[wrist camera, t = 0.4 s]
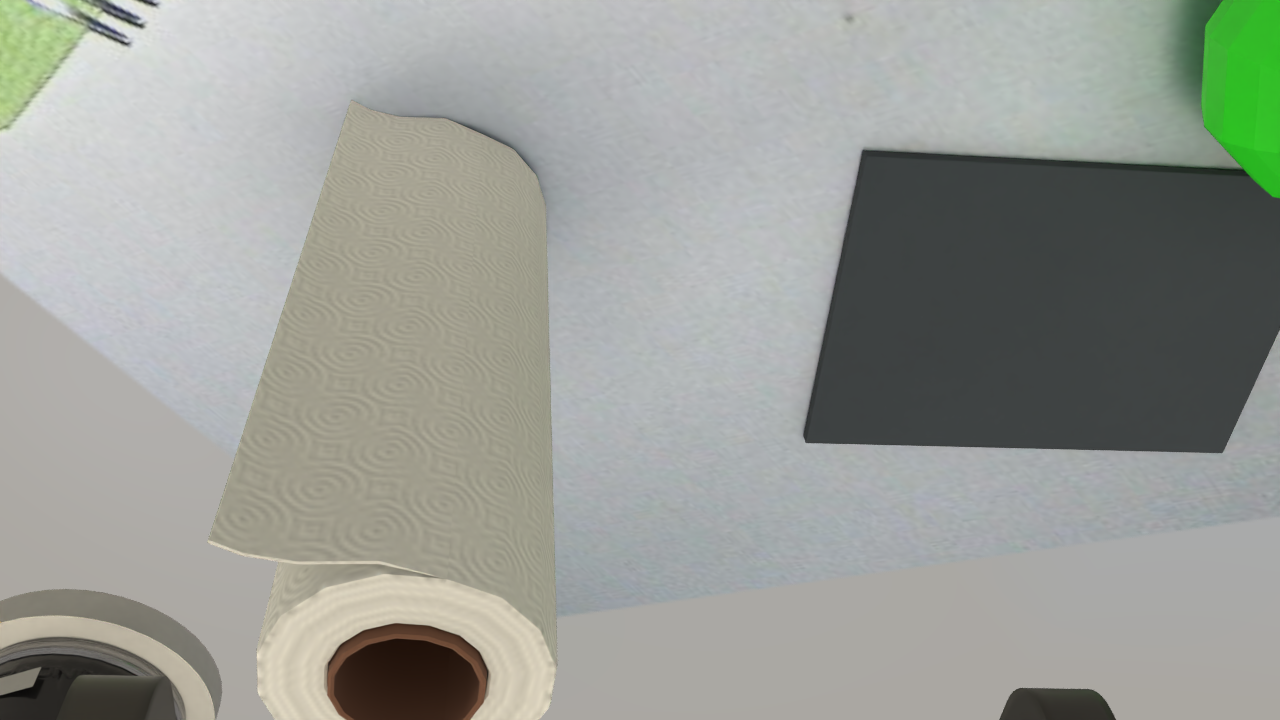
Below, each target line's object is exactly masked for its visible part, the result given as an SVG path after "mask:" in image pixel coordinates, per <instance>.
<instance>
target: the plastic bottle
mask: <svg viewBox="0 0 1280 720" xmlns="http://www.w3.org/2000/svg"><path fill="white" fill-rule="evenodd" d="M1201 108H1202V115H1203V121H1204V127H1205V128H1206V129H1207V130H1208V131H1209V132H1210V133H1211V134H1212V136H1213V137H1214V138H1215V139H1216V140H1217V141H1218V142H1219V143H1220V144H1221V145H1222V146H1223V147H1224V149H1225V150H1226V151H1227V152H1228V153H1229V154H1230V155H1231V156H1232V157H1233V158H1234V159H1235V160H1236V162H1237V163H1238V164H1239V165H1240V166H1241V167H1242V168H1243V169H1244V170H1245V171H1246V172H1247V173H1248V175H1249V176H1250V177H1251V178H1252V179H1253V180H1254V181H1255V182H1256V183H1257V184H1258V185H1260V186H1261V187H1262V188H1263V189H1264V190H1265V191H1266V192H1268V193H1269V194H1270V195H1271V196H1272V197H1276V198H1280V0H1223V1H1222V2H1221V4H1220V5H1219V7H1218V8H1217V10H1216V11H1215V12H1214V14H1213V15H1212V17H1211V18H1210V20H1209V21H1208V23H1207V24H1206V26H1205V41H1204V60H1203V80H1202V99H1201Z"/></svg>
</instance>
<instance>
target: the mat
mask: <svg viewBox="0 0 1280 720" xmlns="http://www.w3.org/2000/svg"><path fill="white" fill-rule="evenodd" d="M1279 330H1280V198H1276V197H1272V196H1271V195H1270V194H1269V193H1268V192H1266V191H1265V190H1264V189H1263V188H1262V187H1261V186H1260V185H1258V184H1257V183H1256V182H1255V181H1254V180H1253V179H1252V178H1251V177H1250V176H1249V175H1248V173H1247V172H1246V171H1236V170H1217V169H1198V168H1179V167H1160V166H1141V165H1123V164H1104V163H1085V162H1066V161H1047V160H1028V159H1009V158H990V157H972V156H953V155H934V154H915V153H896V152H877V151H863V154H862V159H861V164H860V169H859V174H858V178H857V183H856V188H855V193H854V197H853V202H852V207H851V212H850V217H849V221H848V226H847V231H846V236H845V240H844V245H843V250H842V255H841V260H840V264H839V269H838V274H837V279H836V283H835V288H834V293H833V298H832V303H831V307H830V312H829V317H828V322H827V326H826V331H825V336H824V341H823V345H822V350H821V355H820V360H819V365H818V369H817V374H816V379H815V384H814V388H813V393H812V398H811V403H810V408H809V412H808V417H807V422H806V427H805V431H804V439H805V442H806V443H831V444H872V445H913V446H954V447H995V448H1036V449H1077V450H1118V451H1159V452H1200V453H1223V451H1224V449H1225V447H1226V445H1227V442H1228V440H1229V438H1230V436H1231V434H1232V432H1233V429H1234V427H1235V425H1236V423H1237V421H1238V419H1239V416H1240V414H1241V412H1242V410H1243V408H1244V406H1245V403H1246V401H1247V399H1248V397H1249V395H1250V393H1251V390H1252V388H1253V386H1254V384H1255V382H1256V380H1257V377H1258V375H1259V373H1260V371H1261V369H1262V367H1263V364H1264V362H1265V360H1266V358H1267V356H1268V354H1269V351H1270V349H1271V347H1272V345H1273V343H1274V341H1275V338H1276V336H1277V334H1278V332H1279Z"/></svg>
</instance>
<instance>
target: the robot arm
mask: <svg viewBox="0 0 1280 720" xmlns="http://www.w3.org/2000/svg"><path fill="white" fill-rule="evenodd" d="M0 720H186V711H185V706H184V702H183V700H182V697H181V695H180V694H179V692H178V690H177V688H176V687H175V686H174V684H173V683H172V682H171V681H170V680H169V679H168V677H167V676H165V675H164V674H163V673H162V672H161V671H160V670H159V669H157V668H156V667H155V666H153V665H152V664H150V663H149V662H147V661H146V660H144V659H142V658H140V657H138V656H137V655H135V654H132V653H130V652H128V651H126V650H123V649H120V648H118V647H115V646H112V645H108V644H105V643H101V642H96V641H92V640H86V639H78V638H63V637H56V638H40V639H33V640H28V641H24V642H20V643H16V644H13V645H10V646H8V647H5V648H3V649H1V650H0ZM1000 720H1116V719H1115V717H1114V715H1113V713H1112V711H1111V709H1110V708H1109V706H1108V704H1107V702H1106V701H1105V700H1104V699H1103V697H1102V696H1101V695H1100V694H1099V693H1097V692H1095V691H1094V690H1090V689H1048V688H1046V689H1045V688H1019V689H1016V690H1015V691H1013V693H1012V694H1011V695H1010V697H1009V699H1008V701H1007V703H1006V705H1005V708H1004V710H1003V713H1002V715H1001V717H1000Z"/></svg>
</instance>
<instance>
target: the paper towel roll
mask: <svg viewBox="0 0 1280 720" xmlns="http://www.w3.org/2000/svg"><path fill="white" fill-rule="evenodd" d="M207 543H209V544H212V545H215V546H217V547H220V548H222V549H225V550H228V551H230V552H233V553H236V554H239V555H241V556H246V557H253V558H259V559H266V560H272V561H278V566H277V570H276V573H275V578H274V582H273V586H272V590H271V594H270V598H269V602H268V606H267V610H266V614H265V618H264V622H263V626H262V630H261V634H260V638H259V642H258V646H257V687H258V694H259V696H260V697H261V699H262V701H263V702H264V703H265V705H266V707H267V708H268V710H269V711H270V713H271V715H272V716H273V718H274V719H275V720H539V719H540V718H541V716H542V715H543V714H544V713H545V712H546V710H547V709H548V708H549V707H550V703H551V698H552V693H553V687H554V681H555V675H556V670H557V630H556V629H557V628H556V627H557V626H556V586H555V547H554V507H553V467H552V428H551V388H550V348H549V309H548V269H547V229H546V204H545V201H544V198H543V195H542V192H541V189H540V185H539V182H538V179H537V176H536V175H535V173H534V172H533V171H532V170H531V169H530V168H529V167H528V165H527V164H526V163H525V162H524V161H523V160H522V158H521V157H520V156H519V155H518V154H517V153H516V152H515V150H514V149H512V148H510V147H508V146H506V145H504V144H502V143H500V142H498V141H496V140H494V139H491V138H489V137H487V136H485V135H483V134H481V133H479V132H476V131H474V130H472V129H469V128H467V127H465V126H462V125H460V124H458V123H455V122H453V121H451V120H448V119H446V118H423V117H399V116H394V115H390V114H386V113H382V112H378V111H374V110H370V109H368V108H366V107H364V106H362V105H360V104H359V103H357V102H355V101H353V100H351V102H350V105H349V108H348V111H347V114H346V117H345V120H344V123H343V126H342V130H341V133H340V136H339V139H338V142H337V145H336V148H335V151H334V154H333V157H332V160H331V163H330V166H329V170H328V173H327V176H326V179H325V182H324V185H323V188H322V191H321V194H320V197H319V200H318V203H317V206H316V210H315V213H314V216H313V219H312V222H311V225H310V228H309V231H308V234H307V237H306V240H305V243H304V246H303V250H302V253H301V256H300V259H299V262H298V265H297V268H296V271H295V274H294V277H293V280H292V283H291V286H290V290H289V293H288V296H287V299H286V302H285V305H284V308H283V311H282V314H281V317H280V320H279V323H278V326H277V330H276V333H275V336H274V339H273V342H272V345H271V348H270V351H269V354H268V357H267V360H266V363H265V366H264V370H263V373H262V376H261V379H260V382H259V385H258V388H257V391H256V394H255V397H254V400H253V403H252V406H251V410H250V413H249V416H248V419H247V422H246V425H245V428H244V431H243V434H242V437H241V440H240V443H239V446H238V450H237V453H236V456H235V459H234V462H233V465H232V468H231V471H230V474H229V477H228V480H227V483H226V486H225V490H224V493H223V496H222V499H221V502H220V505H219V508H218V511H217V515H216V517H215V520H214V523H213V526H212V530H211V533H210V536H209V539H208V542H207Z"/></svg>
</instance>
